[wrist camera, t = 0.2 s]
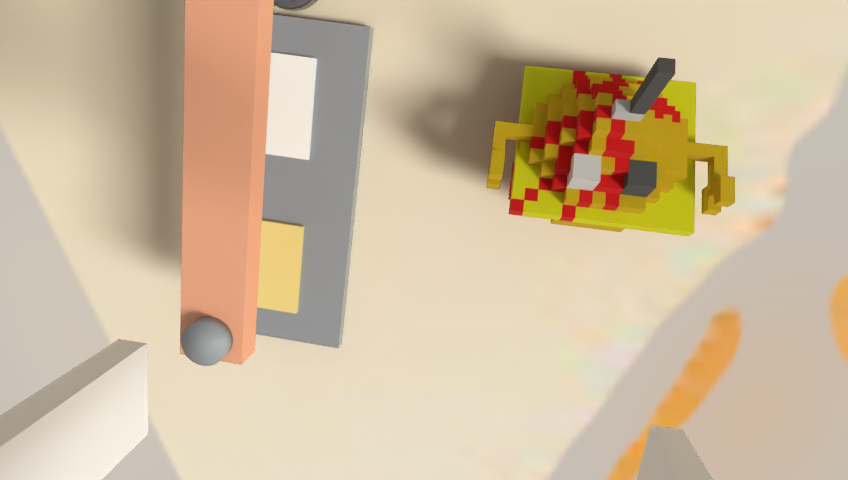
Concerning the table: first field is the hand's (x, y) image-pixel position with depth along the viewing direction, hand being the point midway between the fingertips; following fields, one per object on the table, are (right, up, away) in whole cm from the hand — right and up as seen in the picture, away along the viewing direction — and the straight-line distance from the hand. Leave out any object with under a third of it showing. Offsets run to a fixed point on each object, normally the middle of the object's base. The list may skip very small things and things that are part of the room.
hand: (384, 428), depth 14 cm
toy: (+13, +11, +24) cm, 29 cm away
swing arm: (-10, +12, +24) cm, 29 cm away
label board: (-10, +9, +27) cm, 30 cm away
